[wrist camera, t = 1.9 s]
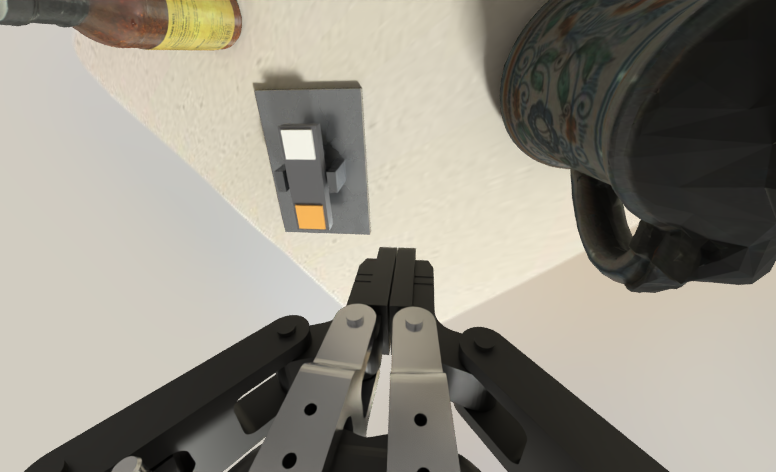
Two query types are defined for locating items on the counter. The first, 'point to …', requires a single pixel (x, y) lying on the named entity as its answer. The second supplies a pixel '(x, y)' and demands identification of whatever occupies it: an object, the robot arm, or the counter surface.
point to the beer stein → (656, 131)
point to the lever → (306, 175)
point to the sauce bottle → (136, 21)
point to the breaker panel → (340, 146)
